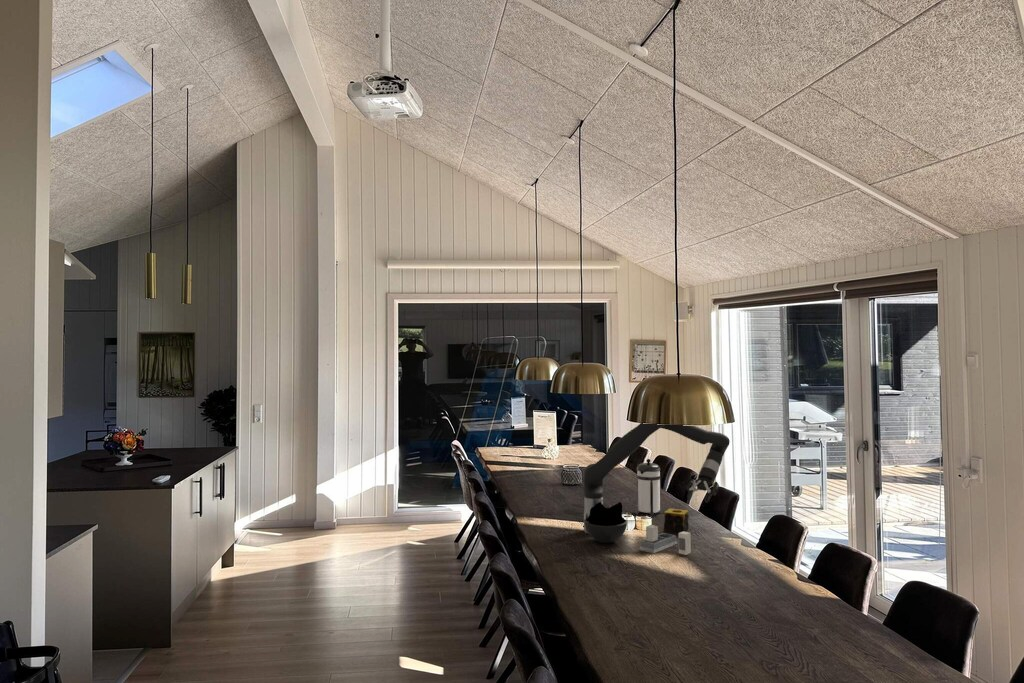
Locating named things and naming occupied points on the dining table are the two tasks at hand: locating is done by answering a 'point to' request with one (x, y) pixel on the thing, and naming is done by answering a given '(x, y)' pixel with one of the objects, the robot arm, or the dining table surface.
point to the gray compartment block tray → (656, 540)
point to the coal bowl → (605, 523)
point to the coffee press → (648, 488)
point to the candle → (676, 521)
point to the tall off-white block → (684, 543)
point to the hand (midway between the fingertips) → (697, 500)
